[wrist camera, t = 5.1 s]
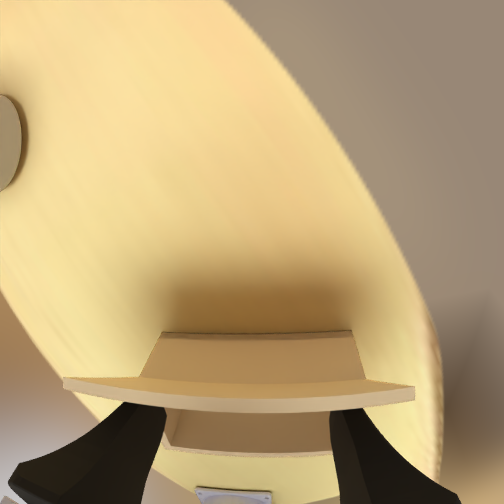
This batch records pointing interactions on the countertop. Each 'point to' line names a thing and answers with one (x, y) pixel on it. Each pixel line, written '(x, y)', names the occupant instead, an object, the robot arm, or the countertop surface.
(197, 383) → the flap
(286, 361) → the carton
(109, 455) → the robot arm
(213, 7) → the countertop surface
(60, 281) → the countertop surface
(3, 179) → the beverage can
